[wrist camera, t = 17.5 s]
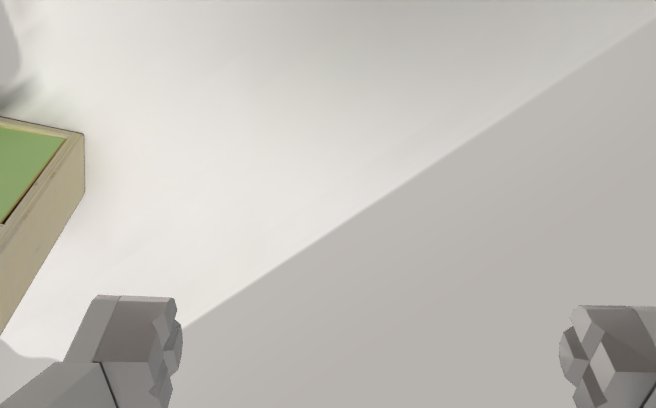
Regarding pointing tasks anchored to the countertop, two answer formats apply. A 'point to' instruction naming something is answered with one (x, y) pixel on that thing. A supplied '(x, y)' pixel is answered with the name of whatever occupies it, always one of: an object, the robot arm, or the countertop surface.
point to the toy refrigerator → (34, 201)
